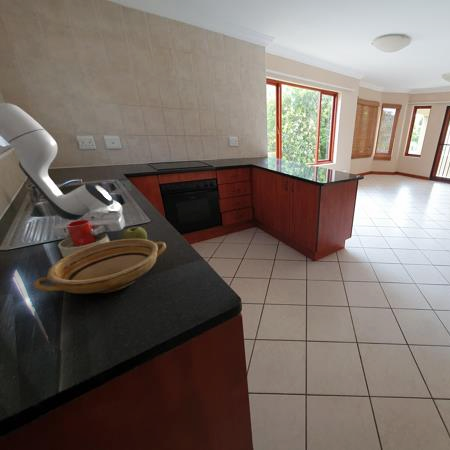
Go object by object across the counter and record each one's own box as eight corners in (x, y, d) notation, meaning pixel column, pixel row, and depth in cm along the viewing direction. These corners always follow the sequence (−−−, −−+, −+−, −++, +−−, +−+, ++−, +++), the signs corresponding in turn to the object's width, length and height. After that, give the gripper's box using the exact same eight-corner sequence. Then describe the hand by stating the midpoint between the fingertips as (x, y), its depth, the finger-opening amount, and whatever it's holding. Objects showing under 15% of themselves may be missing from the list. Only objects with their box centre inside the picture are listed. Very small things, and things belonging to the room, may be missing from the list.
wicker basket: (51, 333, 51) (35, 304, 48) (39, 287, 66) (27, 262, 63) (185, 274, 72) (181, 251, 69) (154, 249, 87) (149, 229, 83)
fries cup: (72, 254, 81) (61, 227, 77) (82, 245, 87) (72, 220, 83) (93, 251, 83) (83, 225, 79) (101, 243, 88) (92, 219, 85)
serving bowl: (53, 262, 77) (48, 250, 76) (75, 244, 89) (71, 233, 87) (101, 257, 81) (97, 245, 79) (116, 240, 93) (113, 230, 91)
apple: (124, 253, 84) (118, 235, 81) (127, 244, 90) (122, 226, 87) (148, 248, 87) (144, 231, 84) (150, 240, 93) (145, 223, 91)
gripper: (63, 215, 90) (38, 229, 78) (125, 210, 96) (112, 223, 83) (69, 230, 92) (46, 246, 80) (129, 225, 98) (117, 239, 86)
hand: (80, 234), depth 82 cm, fingers closed on fries cup, 6 cm apart
